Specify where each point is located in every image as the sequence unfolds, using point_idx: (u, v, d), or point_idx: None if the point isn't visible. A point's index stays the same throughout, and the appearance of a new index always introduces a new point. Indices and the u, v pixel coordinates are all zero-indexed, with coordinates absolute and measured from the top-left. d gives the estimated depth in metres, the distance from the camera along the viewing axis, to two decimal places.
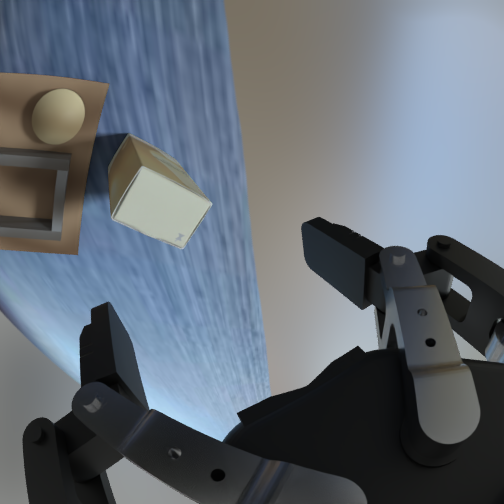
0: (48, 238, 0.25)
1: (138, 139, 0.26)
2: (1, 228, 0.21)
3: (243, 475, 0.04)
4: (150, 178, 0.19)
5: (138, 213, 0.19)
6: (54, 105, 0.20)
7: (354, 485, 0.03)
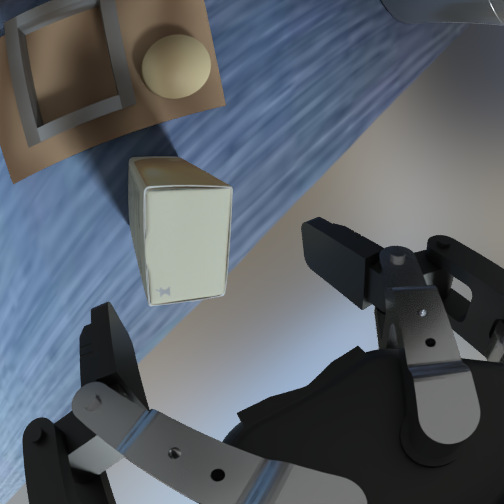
0: (25, 129, 0.15)
1: None
2: (19, 57, 0.12)
3: (243, 475, 0.04)
4: (221, 206, 0.14)
5: (170, 220, 0.13)
6: (189, 56, 0.18)
7: (355, 484, 0.03)
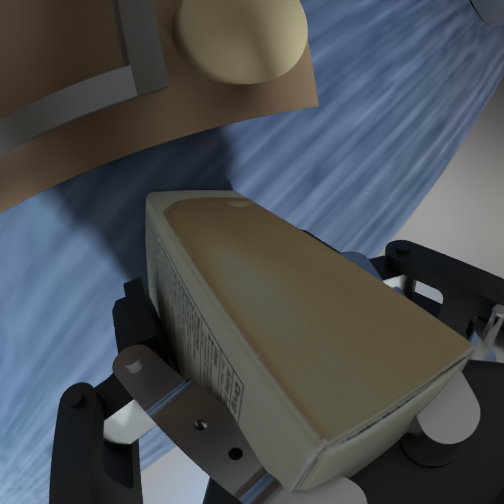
0: None
1: None
2: None
3: None
4: None
5: (356, 468, 0.04)
6: (271, 7, 0.09)
7: (361, 491, 0.03)
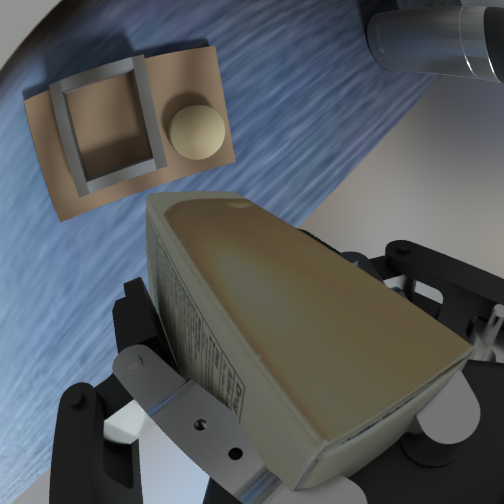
0: (76, 182, 0.21)
1: None
2: (67, 120, 0.19)
3: (260, 459, 0.04)
4: None
5: (356, 468, 0.04)
6: (208, 124, 0.25)
7: (361, 491, 0.03)
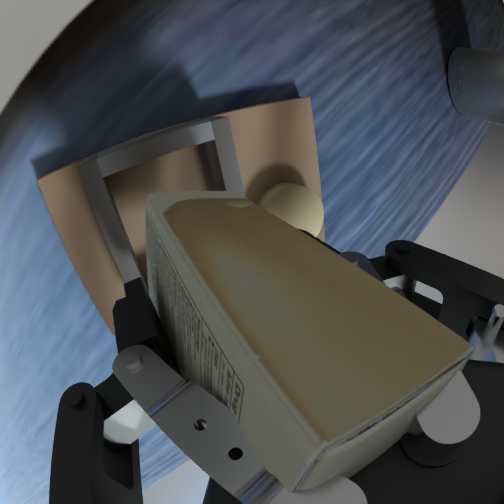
0: None
1: None
2: (116, 223, 0.15)
3: None
4: None
5: (355, 469, 0.04)
6: (305, 211, 0.21)
7: (361, 491, 0.03)
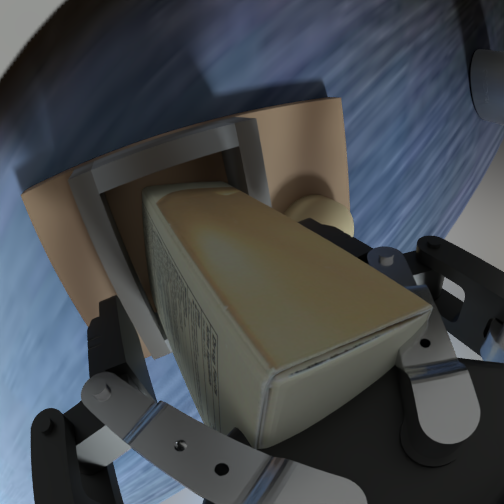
0: (147, 342, 0.14)
1: None
2: (117, 250, 0.12)
3: (247, 471, 0.04)
4: None
5: (319, 413, 0.05)
6: None
7: (357, 486, 0.03)
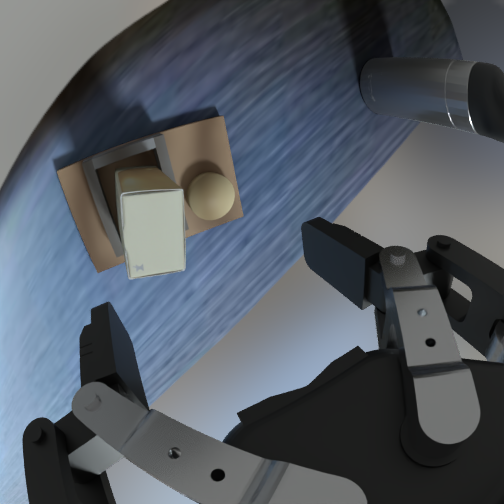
0: (113, 245, 0.28)
1: None
2: (101, 195, 0.26)
3: (243, 475, 0.04)
4: (176, 203, 0.20)
5: (139, 215, 0.19)
6: (220, 190, 0.32)
7: (355, 485, 0.03)
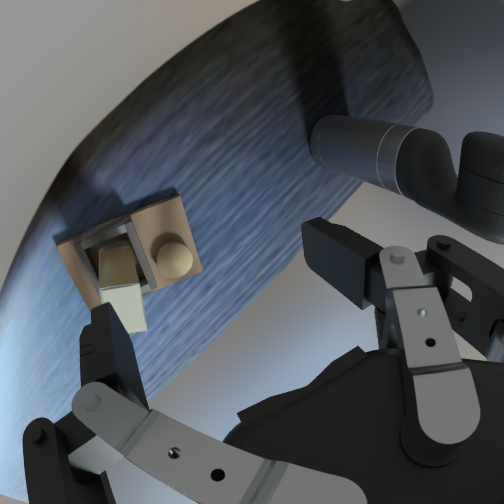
0: None
1: None
2: (90, 267, 0.35)
3: (243, 475, 0.04)
4: (136, 292, 0.29)
5: (113, 301, 0.28)
6: (180, 256, 0.41)
7: (354, 485, 0.03)
